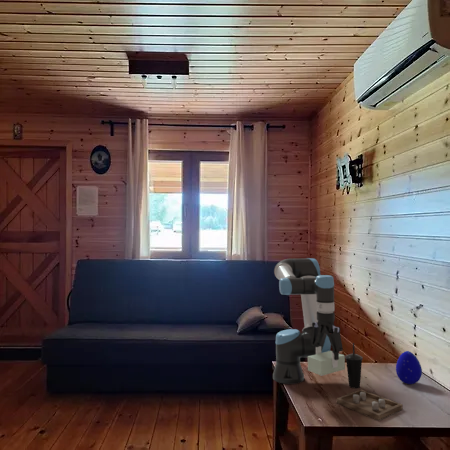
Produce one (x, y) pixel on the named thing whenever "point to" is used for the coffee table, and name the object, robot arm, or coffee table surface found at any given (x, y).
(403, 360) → the ornament
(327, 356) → the grey boxy block
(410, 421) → the coffee table surface
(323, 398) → the coffee table surface
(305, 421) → the coffee table surface
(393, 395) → the coffee table surface
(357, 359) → the drinking cup
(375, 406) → the peg frame
